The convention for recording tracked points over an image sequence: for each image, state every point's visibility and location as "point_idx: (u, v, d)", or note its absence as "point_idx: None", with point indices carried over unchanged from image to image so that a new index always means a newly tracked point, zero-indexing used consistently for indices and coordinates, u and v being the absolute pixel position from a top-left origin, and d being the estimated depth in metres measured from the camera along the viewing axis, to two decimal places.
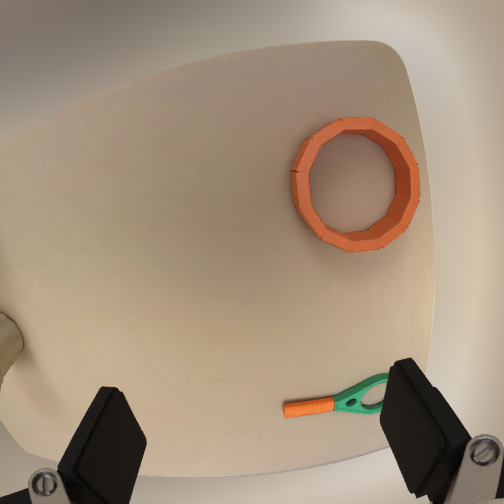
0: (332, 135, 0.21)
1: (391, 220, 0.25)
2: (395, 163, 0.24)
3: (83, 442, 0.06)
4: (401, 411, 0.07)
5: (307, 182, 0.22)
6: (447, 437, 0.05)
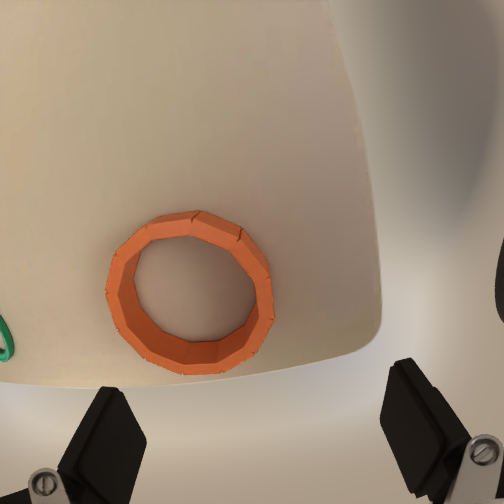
0: (245, 266, 0.18)
1: (153, 339, 0.21)
2: (224, 342, 0.22)
3: (83, 442, 0.06)
4: (401, 411, 0.07)
5: (179, 234, 0.17)
6: (447, 437, 0.05)
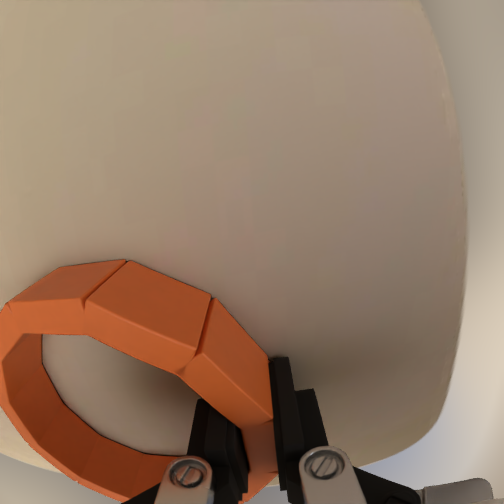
0: (217, 404, 0.07)
1: (85, 455, 0.10)
2: None
3: (223, 418, 0.07)
4: None
5: (65, 330, 0.06)
6: (284, 438, 0.06)
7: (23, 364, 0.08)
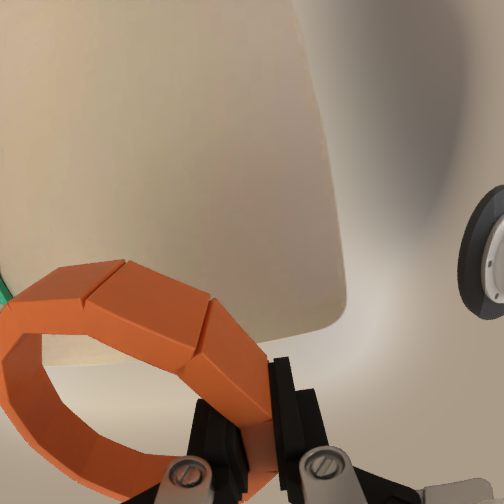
0: (216, 404, 0.07)
1: (85, 454, 0.10)
2: None
3: (223, 418, 0.07)
4: None
5: (64, 330, 0.06)
6: (285, 438, 0.06)
7: (23, 364, 0.08)
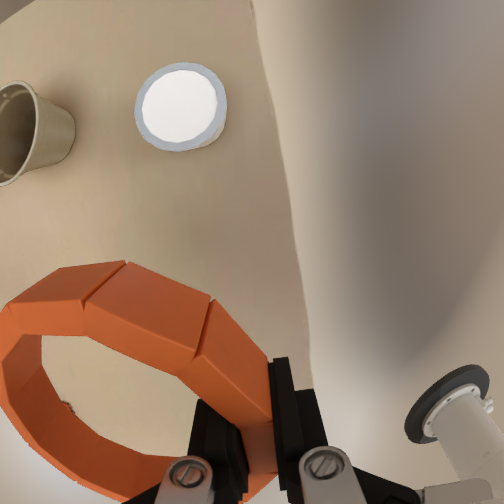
0: (216, 406, 0.07)
1: (85, 455, 0.10)
2: None
3: (224, 418, 0.07)
4: None
5: (64, 331, 0.06)
6: (284, 439, 0.06)
7: (23, 365, 0.08)
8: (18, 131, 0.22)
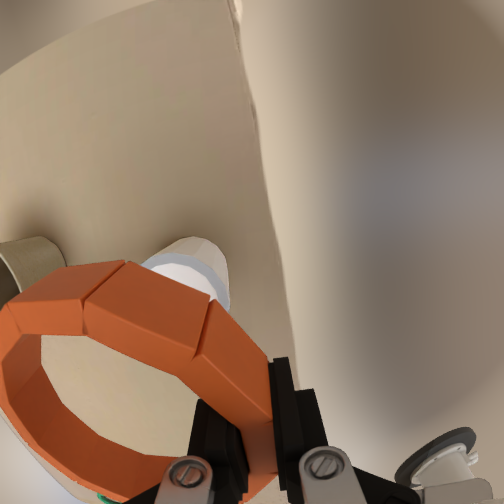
0: (216, 405, 0.07)
1: (85, 455, 0.10)
2: None
3: (223, 418, 0.07)
4: None
5: (64, 330, 0.06)
6: (284, 438, 0.06)
7: (23, 364, 0.08)
8: (5, 263, 0.22)
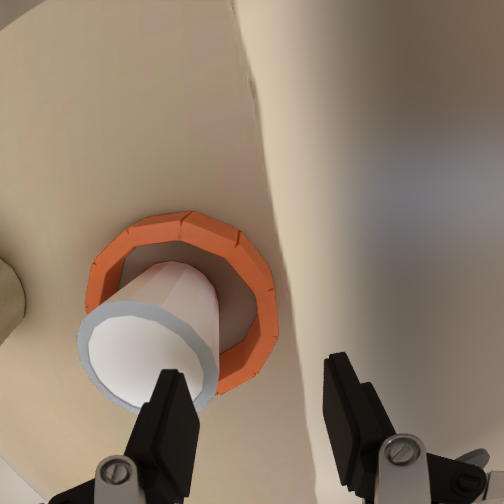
0: (244, 276, 0.15)
1: None
2: (221, 359, 0.19)
3: (155, 423, 0.07)
4: (332, 403, 0.08)
5: (166, 239, 0.14)
6: (361, 431, 0.06)
7: (112, 282, 0.16)
8: None
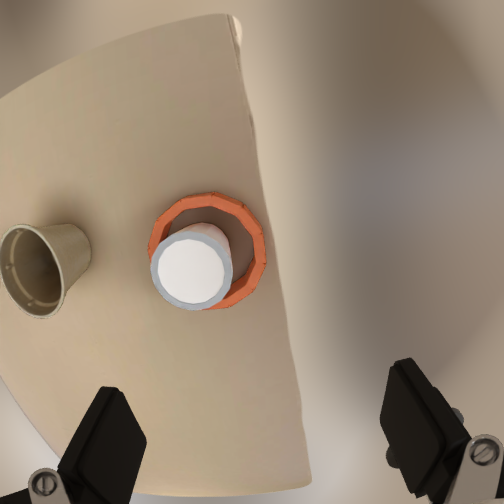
0: (246, 226, 0.27)
1: None
2: (230, 287, 0.31)
3: (83, 442, 0.06)
4: (401, 411, 0.07)
5: (203, 205, 0.26)
6: (447, 437, 0.05)
7: (165, 234, 0.28)
8: (35, 247, 0.27)
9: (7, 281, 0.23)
